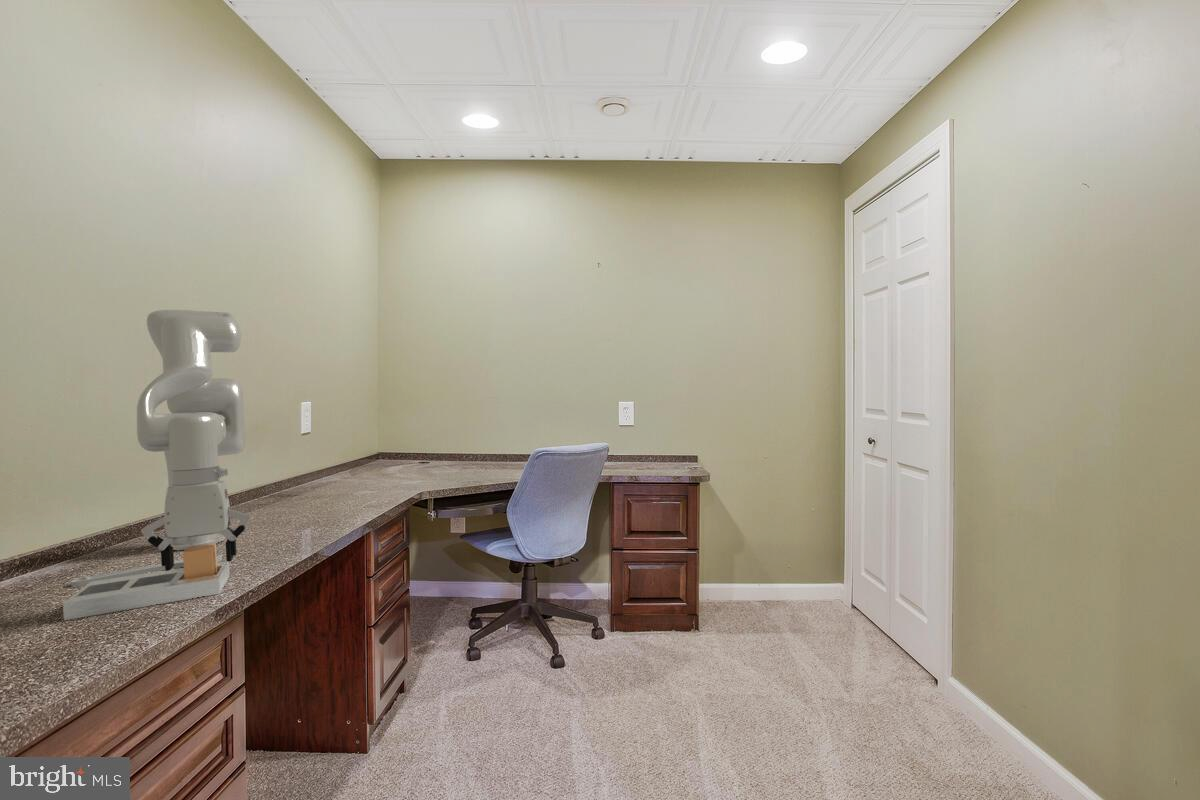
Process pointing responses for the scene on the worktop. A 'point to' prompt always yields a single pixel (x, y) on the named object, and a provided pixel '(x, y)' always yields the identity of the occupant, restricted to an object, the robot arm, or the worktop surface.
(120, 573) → the grey slotted rack
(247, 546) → the worktop surface
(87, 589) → the grey compartment tray
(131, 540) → the worktop surface
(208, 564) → the rectangular block
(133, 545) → the worktop surface
